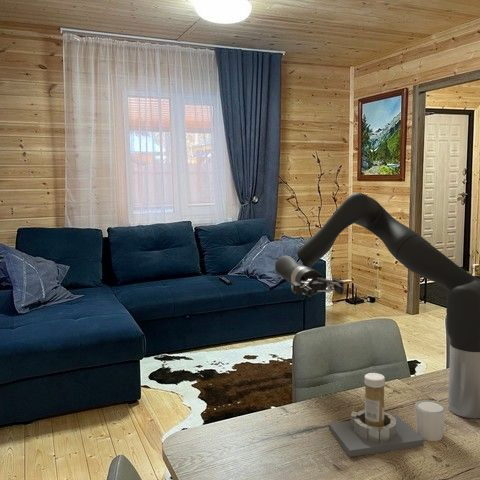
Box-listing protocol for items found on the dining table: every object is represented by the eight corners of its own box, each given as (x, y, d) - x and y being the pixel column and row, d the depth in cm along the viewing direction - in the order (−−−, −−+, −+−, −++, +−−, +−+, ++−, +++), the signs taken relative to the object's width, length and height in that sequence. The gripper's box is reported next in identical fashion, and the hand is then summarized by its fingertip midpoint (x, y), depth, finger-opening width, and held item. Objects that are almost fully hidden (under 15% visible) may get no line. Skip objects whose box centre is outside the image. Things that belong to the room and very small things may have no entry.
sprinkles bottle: (388, 431, 112) (389, 376, 111) (375, 438, 110) (376, 381, 108) (373, 424, 116) (373, 370, 114) (360, 429, 114) (360, 375, 112)
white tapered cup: (445, 430, 115) (446, 402, 114) (444, 444, 109) (445, 415, 108) (415, 424, 118) (416, 397, 117) (412, 438, 112) (413, 410, 111)
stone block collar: (383, 418, 118) (383, 407, 118) (403, 439, 109) (403, 426, 109) (347, 423, 117) (347, 411, 116) (365, 444, 107) (365, 432, 107)
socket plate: (396, 420, 121) (396, 414, 120) (424, 445, 109) (424, 439, 109) (328, 429, 117) (328, 423, 117) (349, 456, 105) (349, 450, 105)
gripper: (283, 269, 144) (301, 280, 128) (328, 266, 147) (351, 276, 131) (284, 293, 145) (301, 307, 129) (328, 290, 148) (351, 303, 132)
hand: (326, 292), depth 130 cm, fingers open, 8 cm apart
